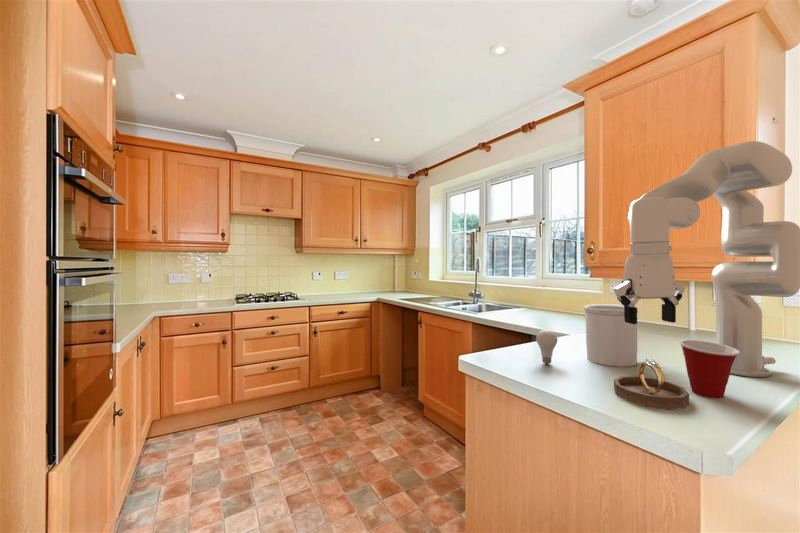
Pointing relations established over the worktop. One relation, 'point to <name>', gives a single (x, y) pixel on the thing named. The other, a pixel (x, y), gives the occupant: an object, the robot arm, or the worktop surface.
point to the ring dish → (636, 393)
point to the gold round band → (657, 371)
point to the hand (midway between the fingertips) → (649, 322)
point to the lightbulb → (546, 344)
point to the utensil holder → (610, 336)
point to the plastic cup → (708, 366)
